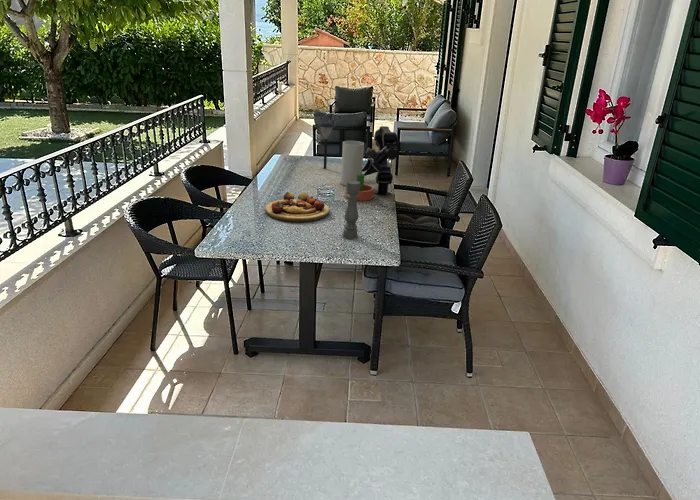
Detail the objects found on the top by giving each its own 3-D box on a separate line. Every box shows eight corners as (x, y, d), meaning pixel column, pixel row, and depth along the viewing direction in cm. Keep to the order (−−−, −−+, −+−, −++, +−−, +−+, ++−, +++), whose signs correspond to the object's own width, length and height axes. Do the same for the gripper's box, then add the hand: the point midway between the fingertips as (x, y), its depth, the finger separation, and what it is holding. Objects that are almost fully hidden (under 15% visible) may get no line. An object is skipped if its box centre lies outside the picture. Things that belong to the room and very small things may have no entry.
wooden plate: (278, 226, 233) (278, 209, 230) (256, 205, 259) (256, 190, 256) (340, 218, 247) (340, 202, 244) (314, 199, 273) (314, 185, 270)
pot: (354, 191, 293) (354, 182, 290) (377, 196, 285) (378, 187, 283) (339, 197, 280) (340, 187, 278) (364, 203, 273) (365, 193, 271)
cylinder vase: (350, 188, 298) (352, 145, 289) (336, 183, 307) (338, 141, 297) (365, 185, 306) (368, 143, 296) (352, 180, 315) (354, 140, 305)
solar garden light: (317, 165, 345) (319, 120, 333) (335, 167, 343) (337, 122, 332) (314, 169, 333) (315, 123, 322) (332, 171, 332) (334, 125, 320)
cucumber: (357, 194, 285) (359, 171, 280) (364, 196, 283) (365, 173, 278) (354, 196, 282) (355, 173, 277) (360, 197, 280) (362, 174, 275)
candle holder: (342, 233, 229) (345, 180, 219) (356, 234, 230) (359, 180, 220) (343, 238, 223) (346, 184, 213) (357, 239, 224) (361, 184, 214)
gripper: (372, 139, 281) (351, 159, 284) (377, 146, 263) (355, 166, 266) (385, 154, 284) (364, 173, 287) (391, 161, 267) (369, 181, 270)
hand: (363, 173), depth 278 cm, fingers open, 9 cm apart
